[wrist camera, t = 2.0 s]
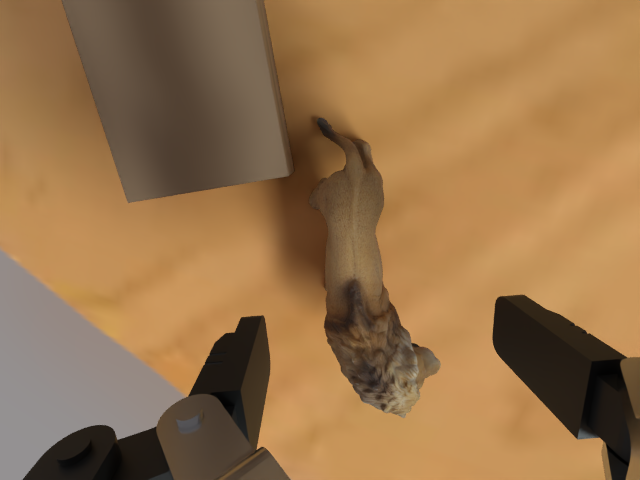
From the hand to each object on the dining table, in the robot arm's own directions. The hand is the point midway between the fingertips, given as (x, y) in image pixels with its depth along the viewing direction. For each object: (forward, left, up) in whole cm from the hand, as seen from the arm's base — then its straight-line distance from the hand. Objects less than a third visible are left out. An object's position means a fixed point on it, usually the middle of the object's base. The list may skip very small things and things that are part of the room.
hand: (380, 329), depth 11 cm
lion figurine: (0, 0, -11) cm, 11 cm away
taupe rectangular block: (+8, -12, -11) cm, 18 cm away
